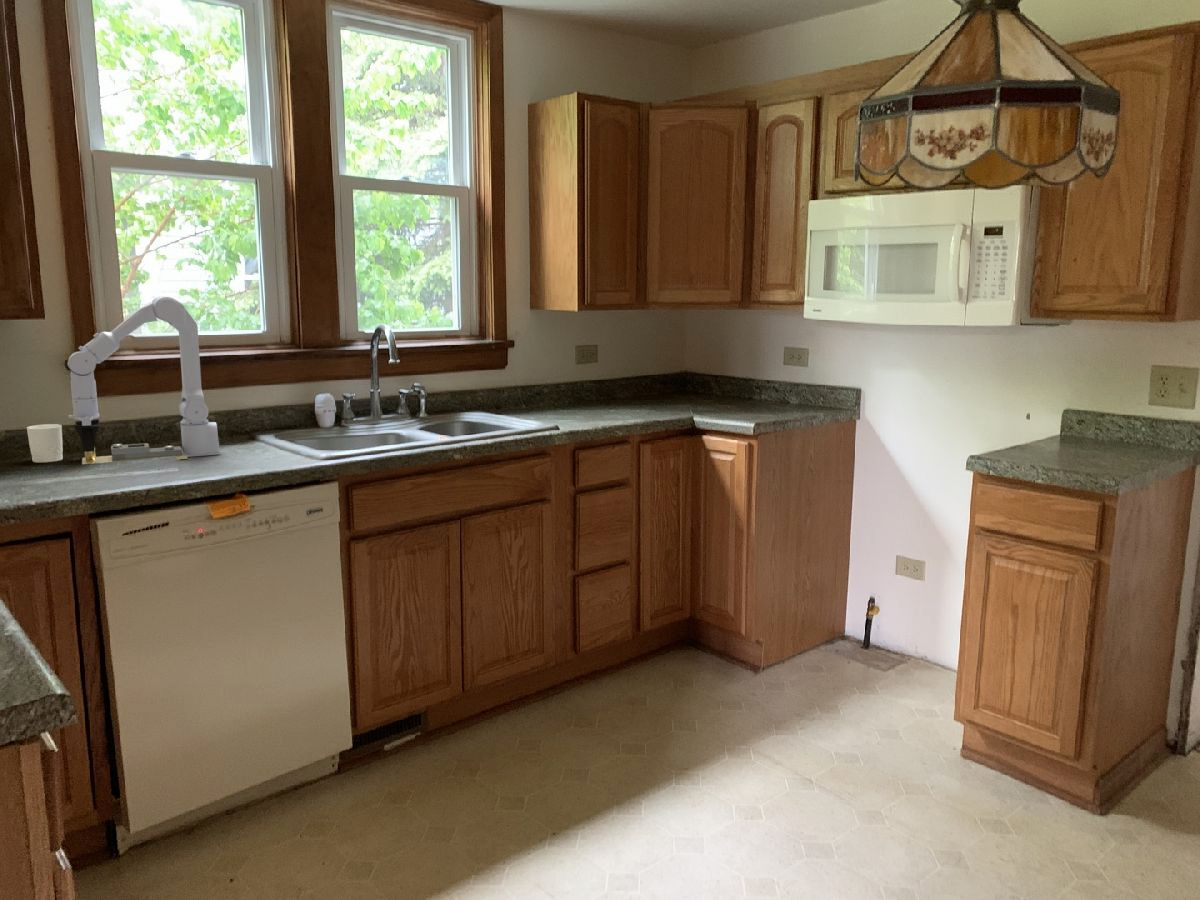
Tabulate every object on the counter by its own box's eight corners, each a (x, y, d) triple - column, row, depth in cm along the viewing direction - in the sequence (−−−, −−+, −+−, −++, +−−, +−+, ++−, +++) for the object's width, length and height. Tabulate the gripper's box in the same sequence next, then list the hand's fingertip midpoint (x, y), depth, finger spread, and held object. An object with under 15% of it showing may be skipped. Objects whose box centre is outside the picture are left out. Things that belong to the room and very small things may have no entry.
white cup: (27, 463, 241) (23, 426, 239) (60, 459, 246) (56, 423, 244) (35, 467, 235) (31, 429, 233) (69, 463, 240) (65, 426, 239)
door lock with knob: (184, 453, 255) (183, 437, 254) (187, 459, 247) (186, 442, 246) (82, 461, 243) (81, 444, 243) (82, 468, 235) (80, 450, 234)
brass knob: (97, 458, 242) (95, 434, 241) (97, 460, 239) (95, 436, 238) (83, 459, 241) (81, 435, 239) (83, 461, 238) (81, 437, 237)
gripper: (67, 395, 241) (72, 445, 244) (66, 401, 229) (71, 454, 231) (97, 394, 245) (102, 443, 247) (98, 400, 232) (102, 452, 235)
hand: (89, 449), depth 239 cm, fingers open, 7 cm apart
